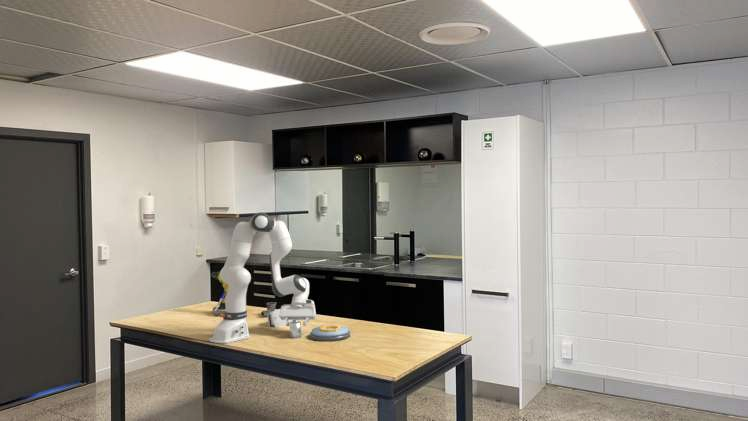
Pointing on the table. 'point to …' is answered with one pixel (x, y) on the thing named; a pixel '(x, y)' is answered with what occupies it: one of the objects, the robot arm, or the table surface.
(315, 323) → the table surface
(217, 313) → the cordless drill
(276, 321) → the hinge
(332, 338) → the turntable base
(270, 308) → the pipe
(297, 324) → the silver can
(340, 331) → the turntable platter
